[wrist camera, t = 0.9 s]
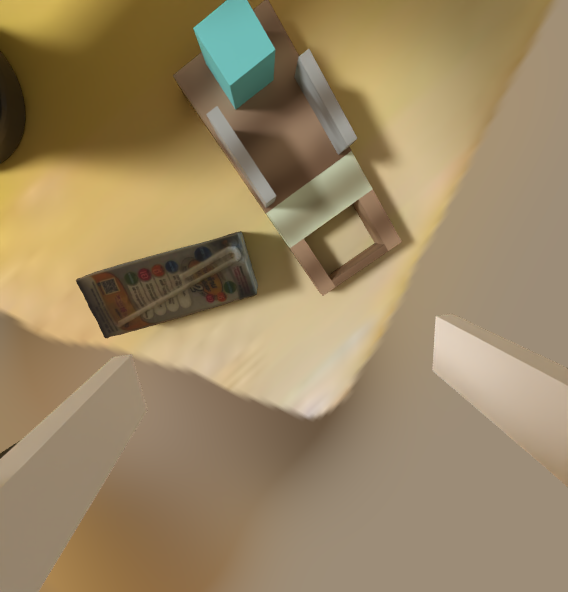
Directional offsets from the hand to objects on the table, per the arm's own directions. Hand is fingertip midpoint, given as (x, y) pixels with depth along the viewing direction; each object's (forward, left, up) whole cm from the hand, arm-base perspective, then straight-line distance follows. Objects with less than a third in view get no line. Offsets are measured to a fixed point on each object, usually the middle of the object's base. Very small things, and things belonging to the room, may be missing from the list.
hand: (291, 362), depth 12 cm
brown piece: (-9, +10, -26) cm, 29 cm away
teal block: (-20, +10, -23) cm, 31 cm away
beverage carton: (-6, -10, -26) cm, 29 cm away
